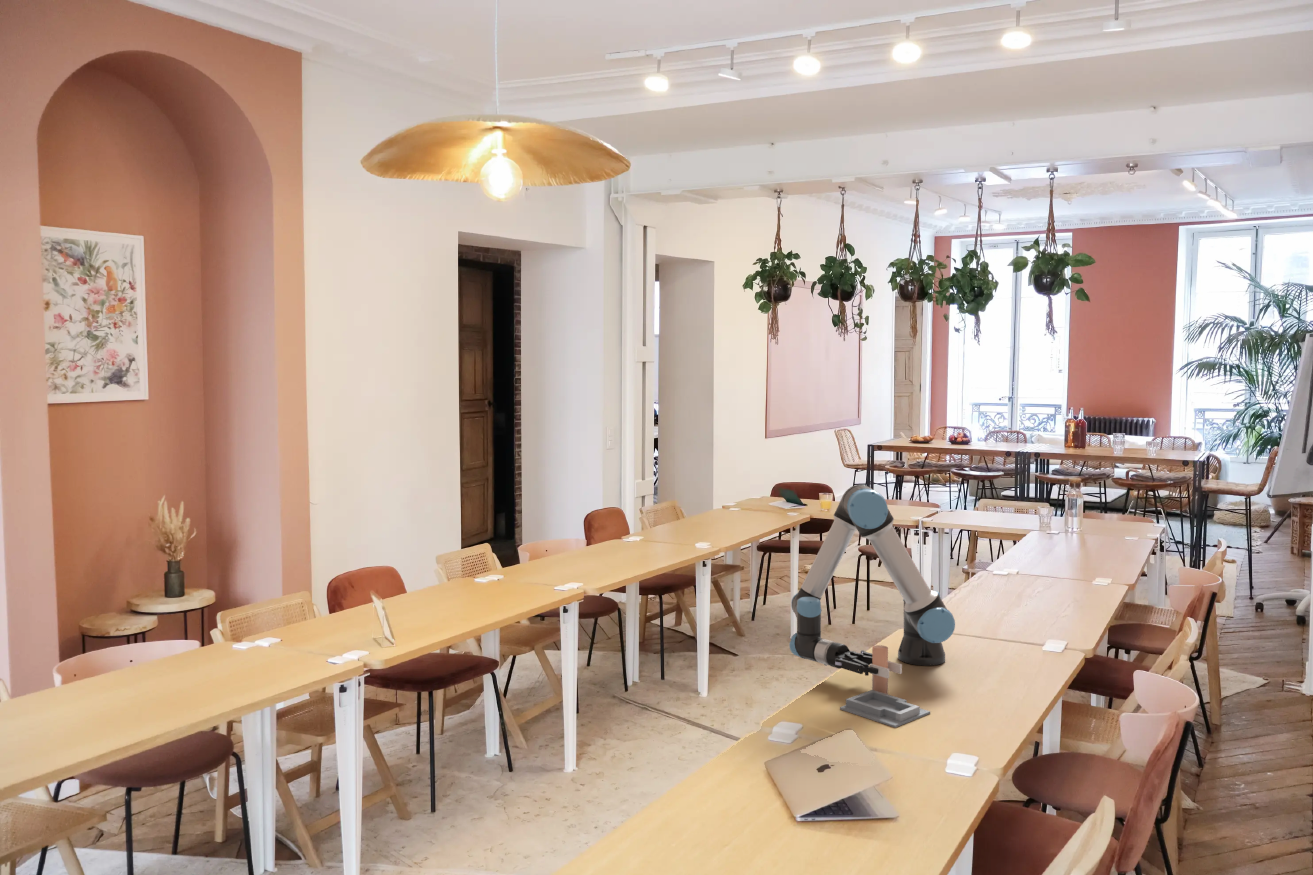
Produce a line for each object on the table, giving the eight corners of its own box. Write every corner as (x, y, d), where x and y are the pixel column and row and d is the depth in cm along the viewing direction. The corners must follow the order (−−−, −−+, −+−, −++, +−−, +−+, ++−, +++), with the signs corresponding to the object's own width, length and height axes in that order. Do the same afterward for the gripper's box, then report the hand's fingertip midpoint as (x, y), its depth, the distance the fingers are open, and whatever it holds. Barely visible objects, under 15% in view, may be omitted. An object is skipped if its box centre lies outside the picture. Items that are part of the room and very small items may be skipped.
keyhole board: (875, 696, 288) (875, 687, 288) (930, 713, 274) (930, 704, 273) (840, 709, 278) (840, 700, 278) (895, 727, 263) (895, 718, 263)
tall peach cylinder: (878, 689, 294) (878, 644, 293) (890, 693, 290) (891, 647, 289) (869, 693, 291) (869, 647, 290) (881, 697, 287) (881, 650, 286)
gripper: (851, 659, 310) (913, 677, 292) (813, 671, 298) (875, 690, 280) (851, 636, 309) (913, 652, 291) (813, 647, 297) (875, 665, 280)
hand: (894, 671), depth 286 cm, fingers open, 5 cm apart
